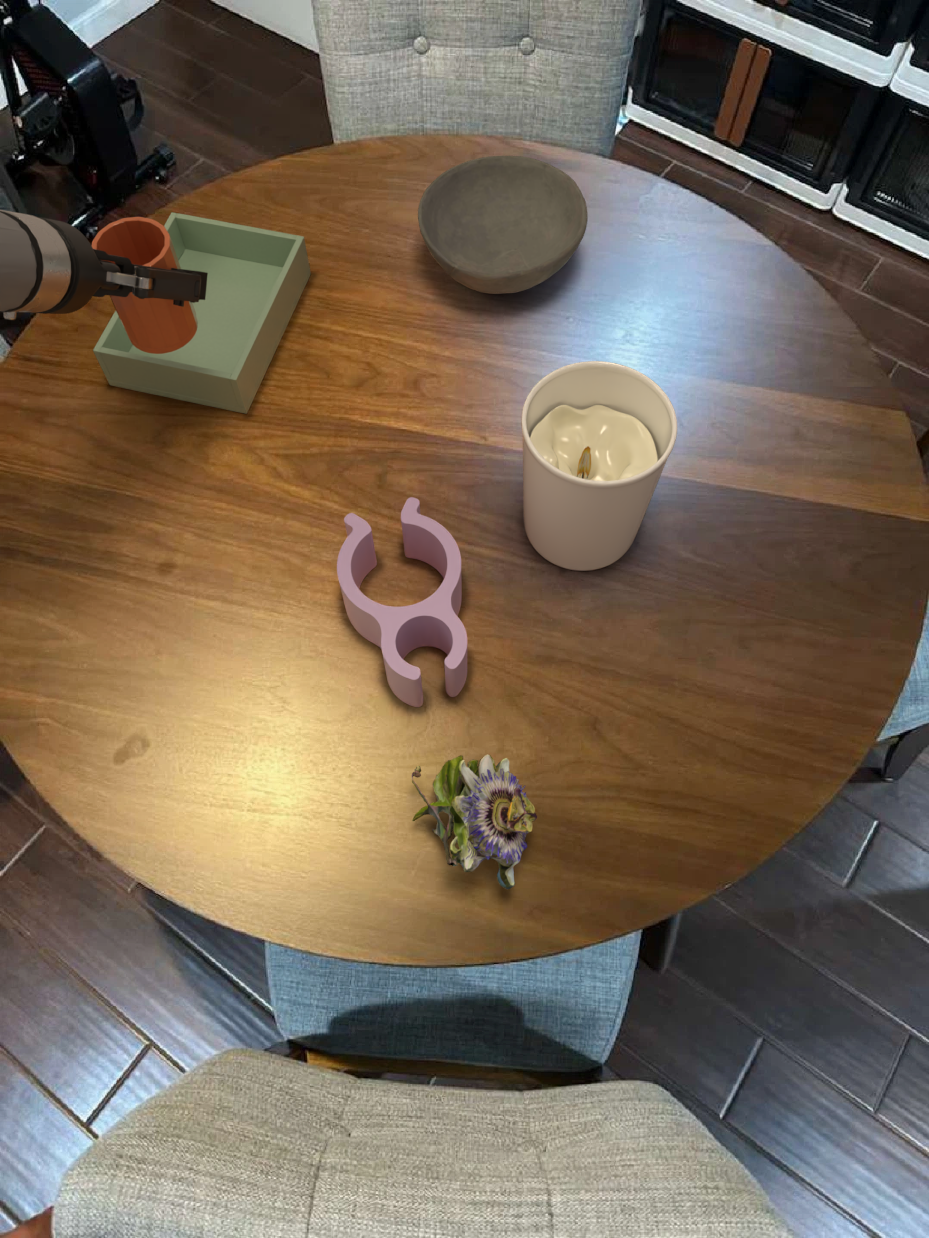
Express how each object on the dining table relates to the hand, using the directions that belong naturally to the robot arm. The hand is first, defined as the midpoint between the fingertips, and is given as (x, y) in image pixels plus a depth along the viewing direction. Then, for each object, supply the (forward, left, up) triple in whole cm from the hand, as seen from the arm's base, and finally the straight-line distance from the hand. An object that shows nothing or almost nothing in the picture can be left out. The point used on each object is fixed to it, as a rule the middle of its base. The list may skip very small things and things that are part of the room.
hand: (166, 278), depth 100 cm
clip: (+32, -23, -18) cm, 44 cm away
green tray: (-3, +10, -17) cm, 20 cm away
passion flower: (+44, -43, -18) cm, 64 cm away
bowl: (+29, +30, -18) cm, 45 cm away
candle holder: (+47, -7, -18) cm, 51 cm away
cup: (0, -3, -4) cm, 5 cm away
